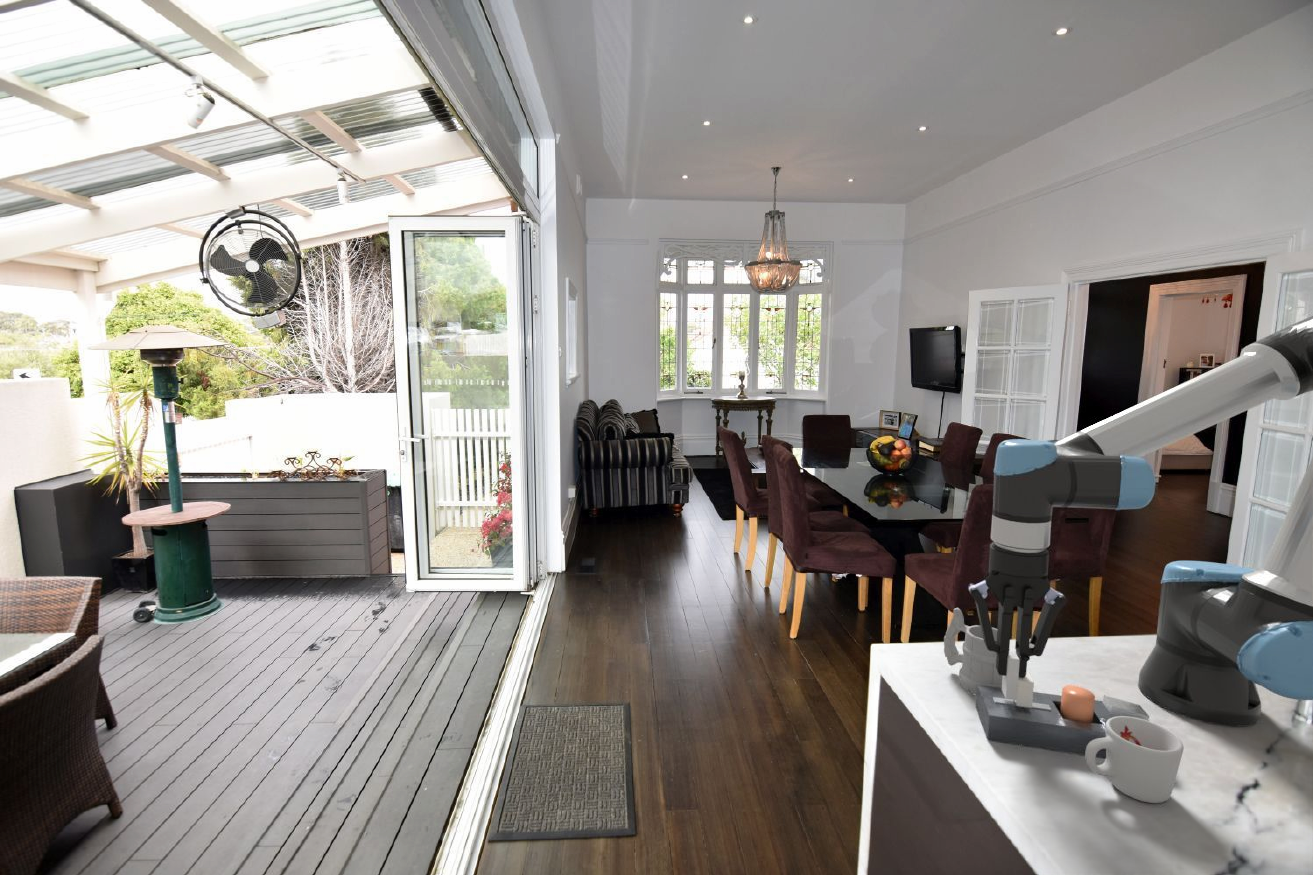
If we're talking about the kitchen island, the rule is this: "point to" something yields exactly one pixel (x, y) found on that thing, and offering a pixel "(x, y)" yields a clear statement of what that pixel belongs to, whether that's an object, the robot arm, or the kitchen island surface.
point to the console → (1038, 722)
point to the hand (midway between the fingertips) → (1009, 694)
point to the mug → (971, 655)
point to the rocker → (1124, 708)
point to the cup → (1138, 758)
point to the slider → (1025, 691)
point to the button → (1077, 704)
